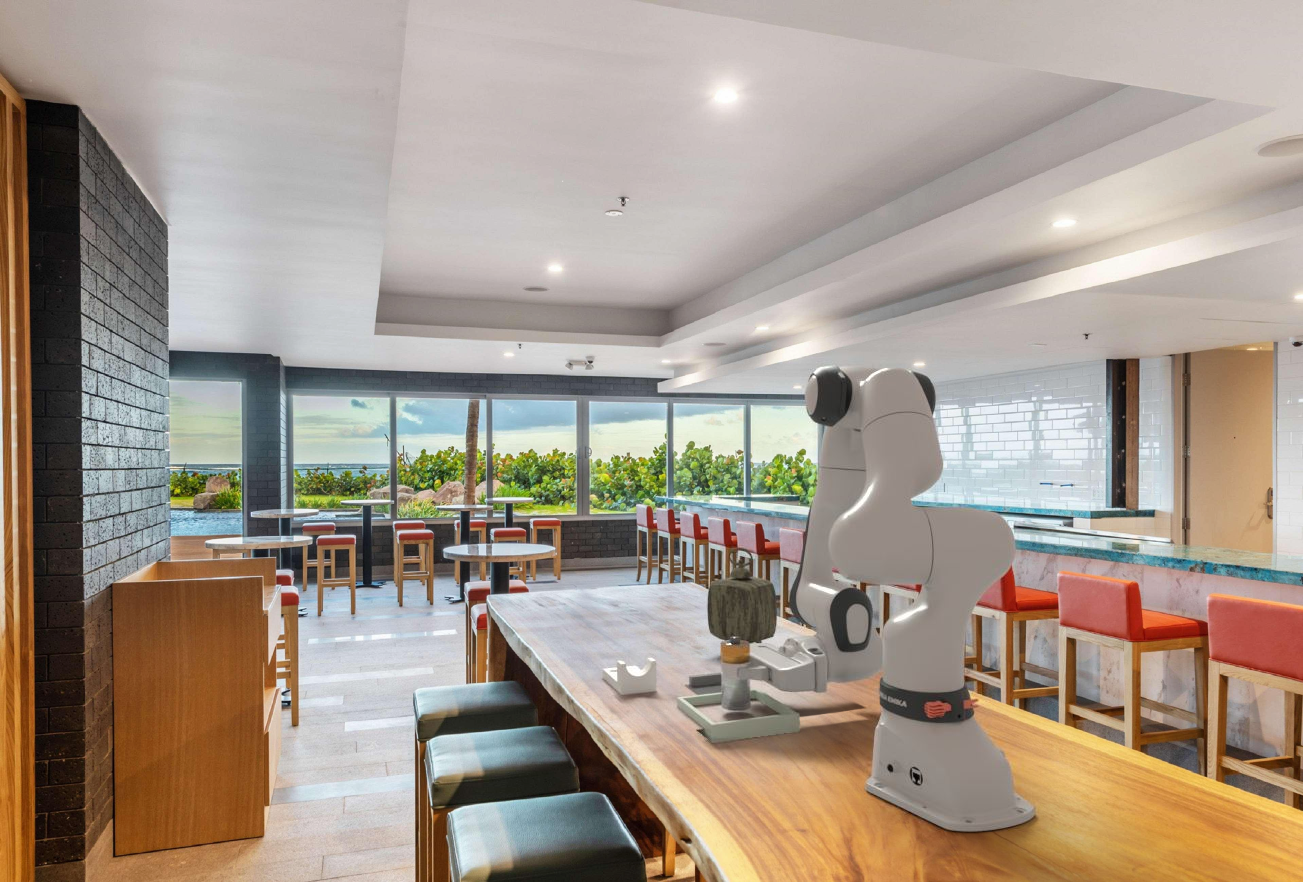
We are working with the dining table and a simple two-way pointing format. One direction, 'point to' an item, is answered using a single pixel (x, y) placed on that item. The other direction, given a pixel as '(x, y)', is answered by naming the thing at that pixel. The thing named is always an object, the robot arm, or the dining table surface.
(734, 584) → the tabletop clock
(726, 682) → the battery cell
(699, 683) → the block
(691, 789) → the dining table surface
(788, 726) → the tray
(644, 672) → the bracket
